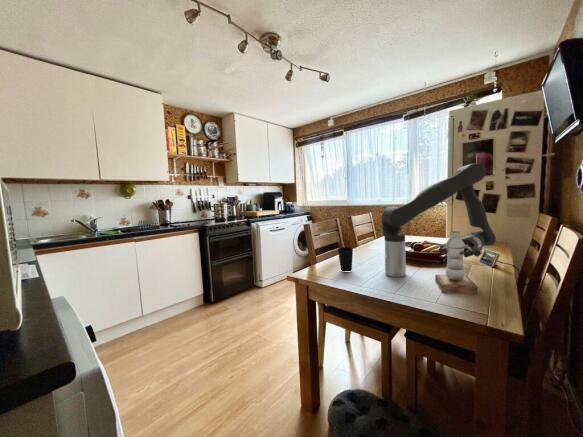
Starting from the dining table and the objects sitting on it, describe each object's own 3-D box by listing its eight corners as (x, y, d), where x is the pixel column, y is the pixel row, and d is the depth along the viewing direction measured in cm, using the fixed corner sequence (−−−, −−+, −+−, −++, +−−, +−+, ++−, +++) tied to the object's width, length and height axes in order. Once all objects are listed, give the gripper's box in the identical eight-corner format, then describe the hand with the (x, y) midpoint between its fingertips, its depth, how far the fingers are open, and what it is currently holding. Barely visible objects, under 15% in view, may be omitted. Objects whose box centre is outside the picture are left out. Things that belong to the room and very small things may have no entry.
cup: (354, 273, 129) (353, 250, 127) (338, 273, 131) (337, 251, 129) (353, 268, 136) (352, 247, 135) (339, 268, 138) (338, 247, 136)
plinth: (442, 292, 101) (442, 284, 101) (435, 281, 112) (435, 274, 112) (477, 294, 97) (477, 286, 97) (466, 282, 109) (466, 275, 108)
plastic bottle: (442, 277, 108) (441, 231, 105) (457, 275, 108) (456, 230, 106) (452, 283, 101) (452, 234, 99) (468, 281, 102) (469, 232, 99)
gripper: (450, 235, 117) (434, 241, 107) (488, 238, 105) (474, 246, 96) (450, 250, 118) (434, 258, 108) (488, 256, 106) (473, 265, 97)
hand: (453, 253), depth 102 cm, fingers open, 8 cm apart
